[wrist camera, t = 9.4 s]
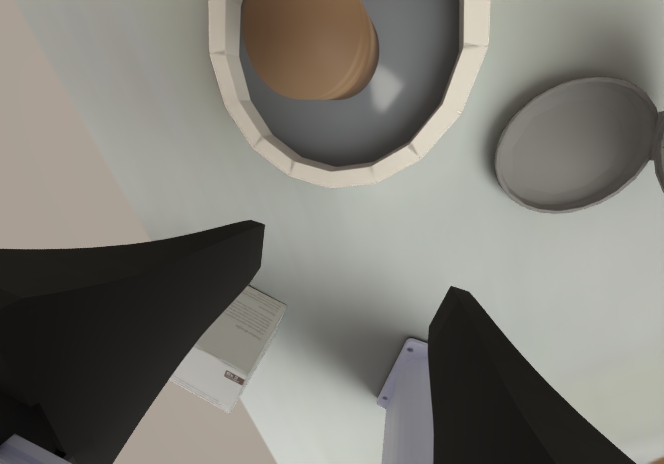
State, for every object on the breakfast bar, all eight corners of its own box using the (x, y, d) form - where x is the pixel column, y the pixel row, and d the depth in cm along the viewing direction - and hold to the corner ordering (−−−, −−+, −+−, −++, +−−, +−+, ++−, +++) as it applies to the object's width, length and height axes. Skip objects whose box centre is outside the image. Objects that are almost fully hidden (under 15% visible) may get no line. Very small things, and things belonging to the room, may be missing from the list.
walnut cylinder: (366, 108, 16) (343, 111, 10) (295, 89, 16) (239, 84, 11) (390, 13, 13) (376, -42, 8) (308, -4, 14) (246, -66, 9)
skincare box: (219, 315, 28) (162, 379, 22) (231, 274, 25) (169, 334, 19) (271, 344, 28) (229, 417, 21) (289, 305, 25) (247, 377, 18)
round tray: (419, 203, 18) (420, 214, 16) (228, 148, 20) (209, 153, 18) (542, -109, 11) (566, -148, 9) (234, -146, 13) (206, -185, 11)
